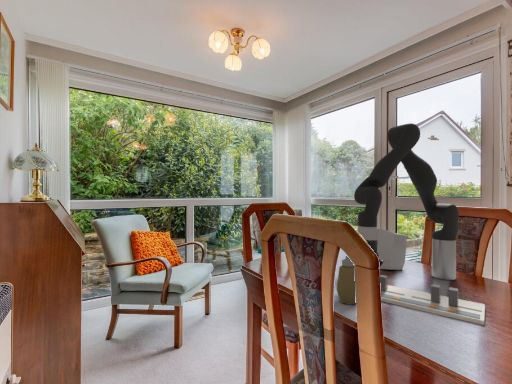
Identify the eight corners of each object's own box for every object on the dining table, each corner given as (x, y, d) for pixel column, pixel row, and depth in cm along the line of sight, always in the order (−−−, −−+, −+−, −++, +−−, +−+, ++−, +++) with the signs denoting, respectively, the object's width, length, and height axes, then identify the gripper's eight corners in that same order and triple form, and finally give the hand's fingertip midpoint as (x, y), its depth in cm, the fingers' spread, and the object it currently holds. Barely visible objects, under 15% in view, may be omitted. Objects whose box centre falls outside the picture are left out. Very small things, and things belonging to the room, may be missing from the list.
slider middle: (432, 298, 99) (432, 284, 99) (440, 300, 98) (440, 285, 98) (430, 300, 97) (431, 286, 97) (439, 302, 95) (439, 287, 95)
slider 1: (380, 287, 110) (380, 274, 110) (387, 289, 108) (387, 275, 108) (378, 289, 108) (378, 276, 108) (385, 291, 106) (385, 277, 106)
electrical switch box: (410, 273, 143) (414, 233, 145) (390, 272, 137) (394, 230, 138) (385, 266, 157) (389, 229, 158) (365, 265, 150) (370, 227, 151)
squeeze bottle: (333, 297, 104) (333, 248, 104) (354, 297, 105) (355, 247, 104) (341, 306, 96) (342, 252, 96) (365, 305, 96) (365, 252, 96)
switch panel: (383, 287, 116) (383, 283, 116) (484, 307, 95) (485, 303, 95) (370, 298, 103) (370, 294, 103) (484, 325, 83) (484, 319, 83)
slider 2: (449, 301, 96) (449, 287, 96) (458, 303, 95) (458, 288, 95) (448, 304, 94) (448, 289, 94) (457, 306, 92) (457, 291, 92)
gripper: (387, 238, 111) (387, 283, 111) (353, 235, 119) (353, 276, 119) (382, 241, 105) (381, 288, 105) (346, 237, 113) (346, 280, 113)
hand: (366, 282), depth 112 cm, fingers closed
